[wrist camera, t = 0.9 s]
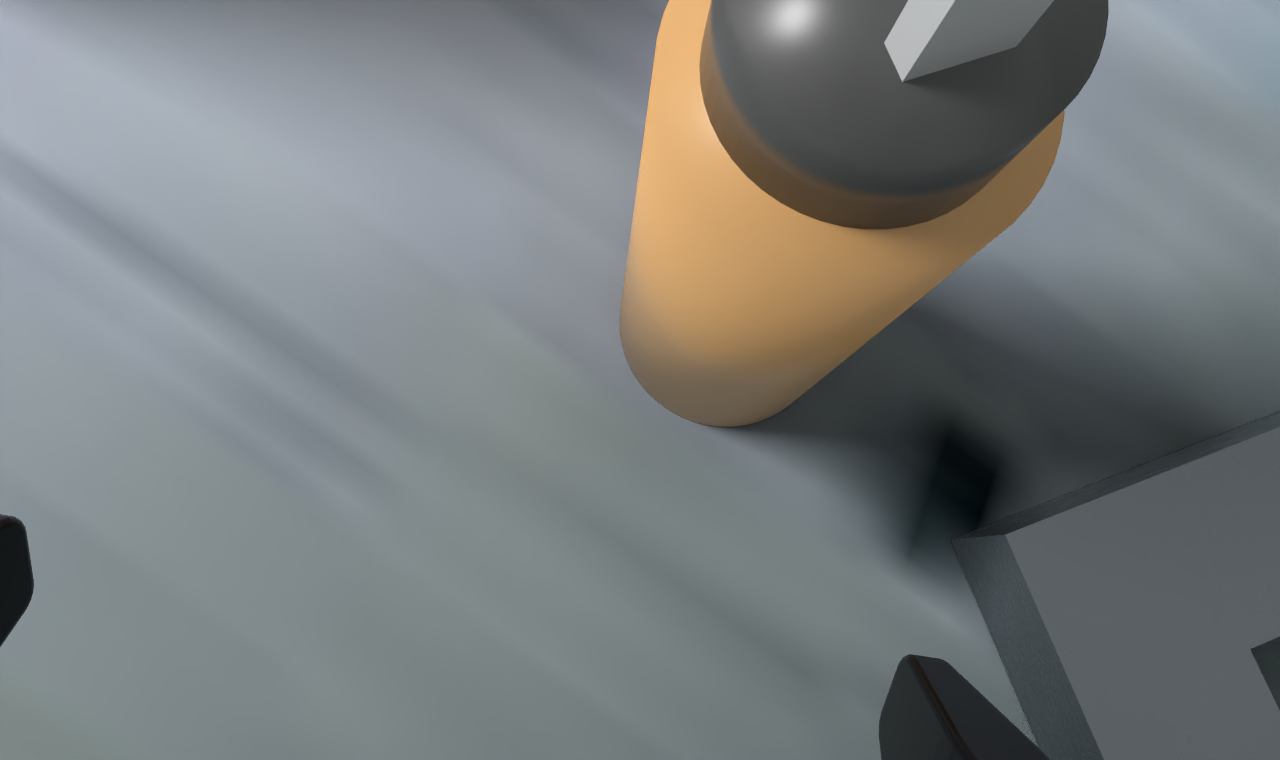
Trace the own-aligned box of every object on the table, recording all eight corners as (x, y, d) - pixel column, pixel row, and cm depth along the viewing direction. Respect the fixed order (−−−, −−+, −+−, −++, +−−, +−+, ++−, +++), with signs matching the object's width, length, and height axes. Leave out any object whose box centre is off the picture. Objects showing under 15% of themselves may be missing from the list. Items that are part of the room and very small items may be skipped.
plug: (857, 386, 23) (1375, 34, 8) (662, 456, 22) (823, 215, 7) (779, 202, 24) (1107, -423, 9) (590, 263, 23) (600, -304, 8)
